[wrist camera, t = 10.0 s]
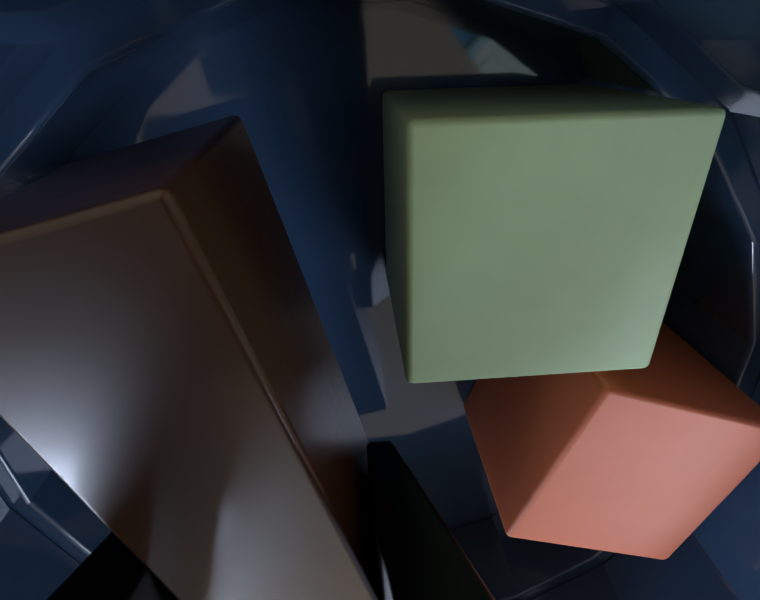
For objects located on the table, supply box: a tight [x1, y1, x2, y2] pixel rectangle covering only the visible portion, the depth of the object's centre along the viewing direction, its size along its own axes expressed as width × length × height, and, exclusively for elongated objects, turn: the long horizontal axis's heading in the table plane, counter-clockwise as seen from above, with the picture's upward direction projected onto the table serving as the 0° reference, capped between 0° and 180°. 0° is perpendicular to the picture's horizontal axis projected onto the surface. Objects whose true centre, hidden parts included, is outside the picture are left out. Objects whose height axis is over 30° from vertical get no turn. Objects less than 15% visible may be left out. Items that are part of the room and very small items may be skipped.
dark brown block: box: [0, 115, 383, 600], centre depth 7 cm, size 2×9×3 cm, turn 15°
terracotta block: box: [464, 322, 760, 560], centre depth 9 cm, size 4×4×4 cm
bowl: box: [0, 0, 760, 600], centre depth 9 cm, size 15×15×5 cm
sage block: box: [382, 84, 725, 384], centre depth 7 cm, size 4×4×4 cm
